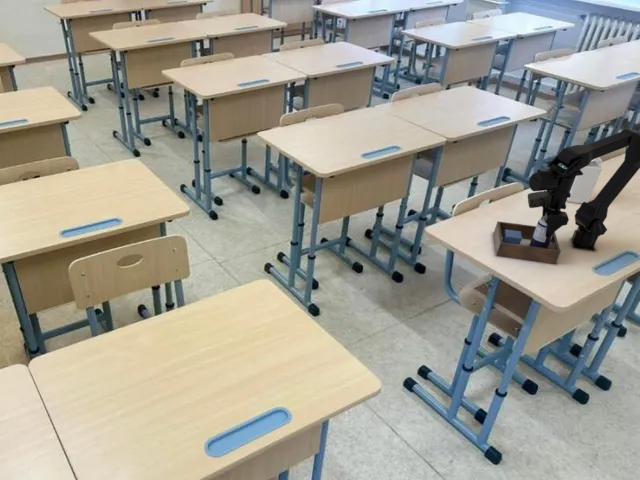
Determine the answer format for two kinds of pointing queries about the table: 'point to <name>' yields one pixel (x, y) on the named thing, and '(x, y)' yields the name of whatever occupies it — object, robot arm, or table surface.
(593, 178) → the milk carton
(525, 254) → the wooden tray
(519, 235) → the block
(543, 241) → the beverage can
